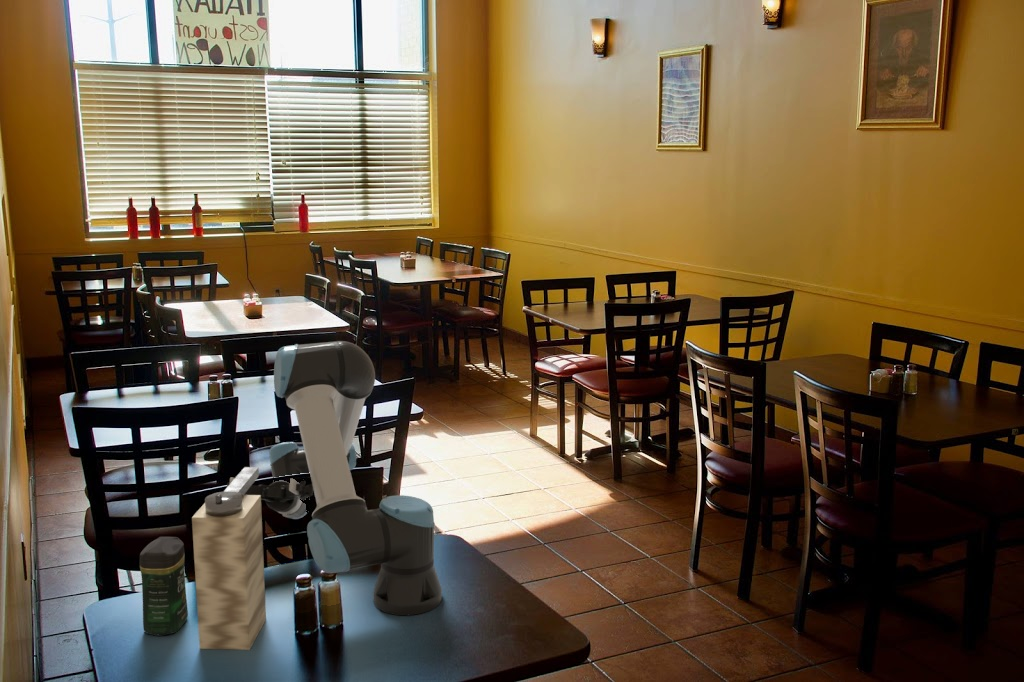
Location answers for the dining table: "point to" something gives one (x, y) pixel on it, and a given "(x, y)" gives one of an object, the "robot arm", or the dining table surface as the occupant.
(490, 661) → the dining table surface
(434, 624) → the dining table surface
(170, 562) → the coffee jar
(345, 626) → the dining table surface
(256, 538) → the birch pedestal
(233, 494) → the pin spanner
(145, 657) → the dining table surface
